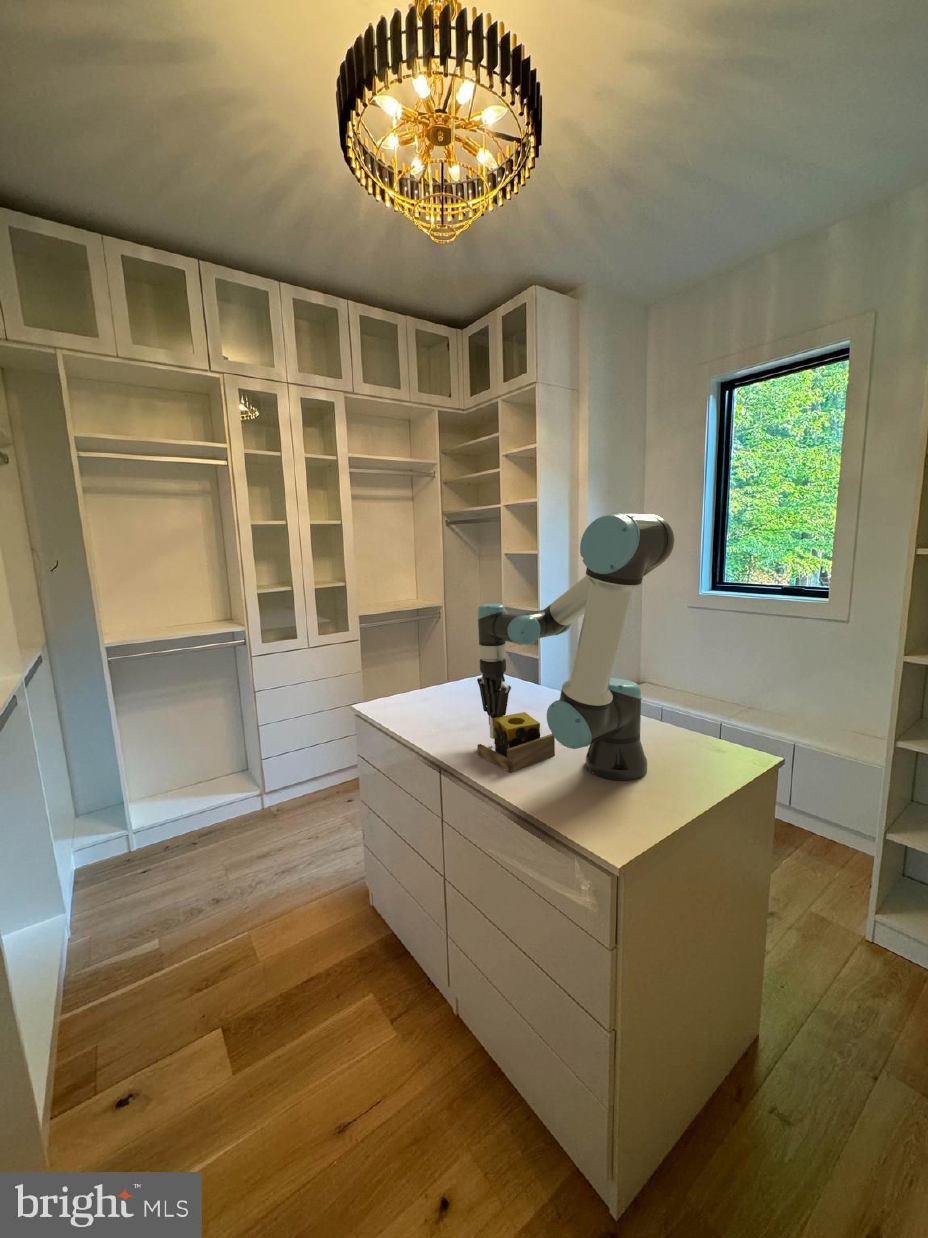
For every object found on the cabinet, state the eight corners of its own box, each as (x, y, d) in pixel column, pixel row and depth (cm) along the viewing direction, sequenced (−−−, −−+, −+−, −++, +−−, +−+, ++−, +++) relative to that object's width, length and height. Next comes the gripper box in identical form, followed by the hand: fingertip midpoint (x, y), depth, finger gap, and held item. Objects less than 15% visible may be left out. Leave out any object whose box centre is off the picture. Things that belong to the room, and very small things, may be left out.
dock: (554, 755, 136) (554, 734, 135) (510, 772, 127) (509, 750, 127) (521, 740, 148) (520, 720, 147) (477, 754, 139) (477, 734, 138)
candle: (526, 744, 145) (525, 711, 143) (542, 757, 135) (541, 722, 134) (493, 750, 141) (492, 716, 140) (508, 764, 132) (507, 729, 130)
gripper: (517, 660, 138) (519, 740, 141) (489, 652, 148) (491, 727, 152) (496, 664, 134) (499, 747, 137) (468, 656, 144) (471, 733, 148)
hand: (495, 737), depth 145 cm, fingers closed
